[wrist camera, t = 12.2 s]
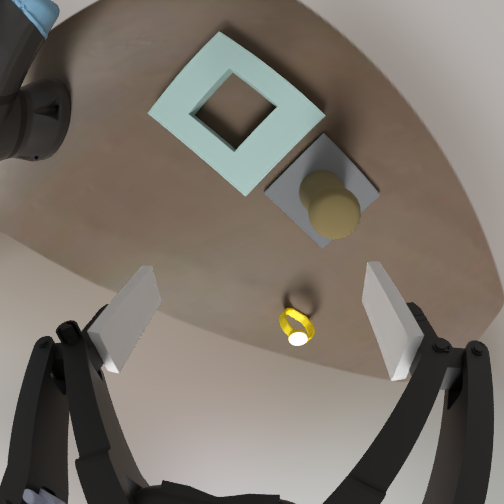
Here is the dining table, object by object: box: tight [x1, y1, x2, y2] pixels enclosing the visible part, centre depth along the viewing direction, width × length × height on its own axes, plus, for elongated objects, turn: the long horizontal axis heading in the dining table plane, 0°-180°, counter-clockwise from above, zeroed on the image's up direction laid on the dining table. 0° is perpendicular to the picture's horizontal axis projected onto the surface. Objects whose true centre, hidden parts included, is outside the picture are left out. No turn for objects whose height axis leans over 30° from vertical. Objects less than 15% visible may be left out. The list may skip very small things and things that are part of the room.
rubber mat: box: [264, 133, 380, 248], centre depth 34 cm, size 11×11×1 cm
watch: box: [279, 308, 315, 346], centre depth 40 cm, size 6×3×6 cm, turn 57°
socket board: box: [148, 32, 326, 197], centre depth 30 cm, size 17×14×2 cm
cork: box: [299, 170, 361, 239], centre depth 29 cm, size 6×6×11 cm
